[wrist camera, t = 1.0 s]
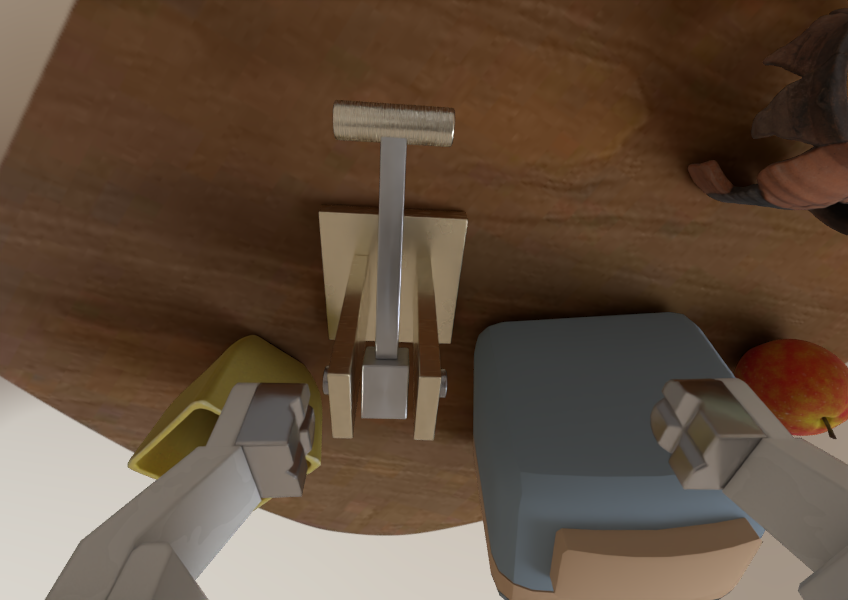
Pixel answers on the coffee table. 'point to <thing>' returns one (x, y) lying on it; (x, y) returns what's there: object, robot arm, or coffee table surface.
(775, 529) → the robot arm
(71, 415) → the coffee table surface
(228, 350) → the flower pot
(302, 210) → the coffee table surface
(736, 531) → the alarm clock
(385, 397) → the lever
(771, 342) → the fruit
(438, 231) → the bracket
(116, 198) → the coffee table surface
